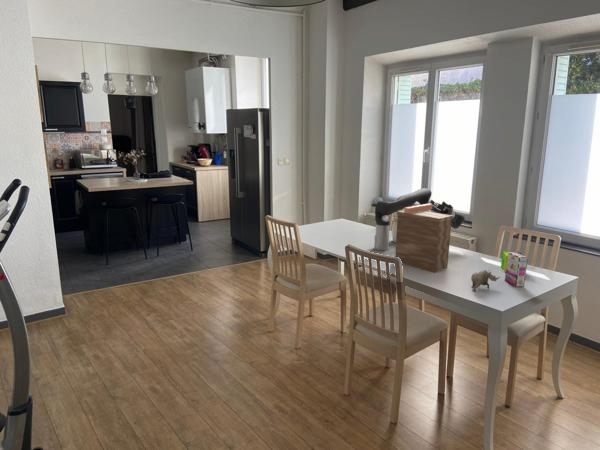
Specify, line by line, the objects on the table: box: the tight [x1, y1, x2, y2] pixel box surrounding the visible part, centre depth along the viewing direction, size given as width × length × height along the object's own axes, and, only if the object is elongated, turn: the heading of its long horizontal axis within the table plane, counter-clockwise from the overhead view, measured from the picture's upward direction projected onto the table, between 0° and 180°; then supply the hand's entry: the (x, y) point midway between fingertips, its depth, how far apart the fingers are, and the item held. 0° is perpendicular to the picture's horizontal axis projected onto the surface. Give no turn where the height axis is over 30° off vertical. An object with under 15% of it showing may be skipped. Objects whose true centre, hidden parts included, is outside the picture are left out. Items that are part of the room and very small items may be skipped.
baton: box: [404, 204, 433, 213], centre depth 270 cm, size 26×3×3 cm, turn 132°
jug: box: [390, 209, 404, 244], centre depth 324 cm, size 15×16×25 cm
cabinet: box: [394, 210, 453, 273], centre depth 266 cm, size 15×29×32 cm, turn 42°
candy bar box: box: [504, 251, 529, 288], centre depth 235 cm, size 11×5×16 cm, turn 5°
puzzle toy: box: [500, 251, 525, 273], centre depth 260 cm, size 10×10×10 cm
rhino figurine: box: [470, 269, 501, 292], centre depth 229 cm, size 8×14×15 cm
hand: (436, 201), depth 283 cm, fingers open, 8 cm apart
